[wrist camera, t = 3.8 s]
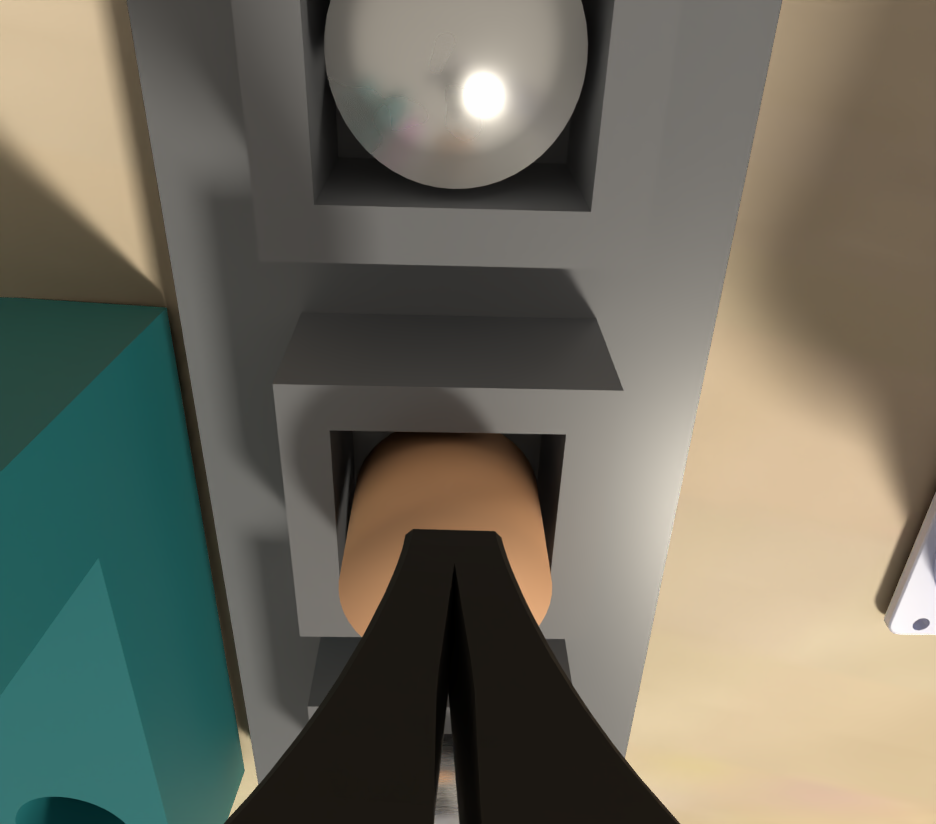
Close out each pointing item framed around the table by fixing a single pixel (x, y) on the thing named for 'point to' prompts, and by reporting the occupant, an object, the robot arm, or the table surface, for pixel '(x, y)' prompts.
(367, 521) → the middle knob
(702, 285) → the control panel
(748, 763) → the table surface
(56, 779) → the teal l-shaped bracket
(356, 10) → the knob
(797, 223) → the table surface
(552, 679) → the robot arm
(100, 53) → the table surface
